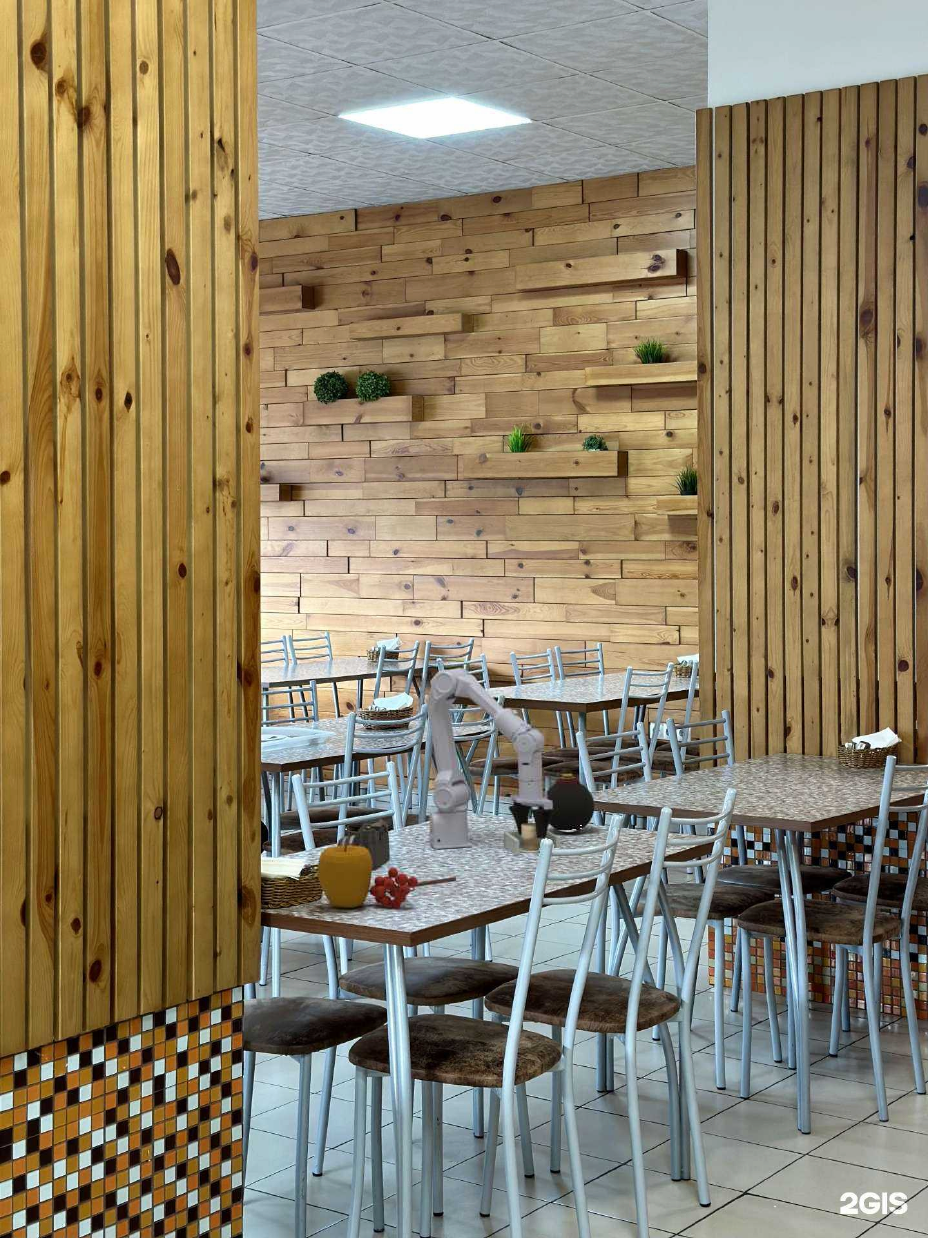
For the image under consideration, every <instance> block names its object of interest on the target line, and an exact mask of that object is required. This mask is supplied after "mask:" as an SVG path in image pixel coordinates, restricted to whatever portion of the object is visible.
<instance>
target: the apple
mask: <svg viewBox="0 0 928 1238" xmlns="http://www.w3.org/2000/svg"><path fill="white" fill-rule="evenodd" d="M372 872H373V870H372V858H371V855H370V853H369V851H368V849H366V848H365V847H360V846H349V845H348V846H347V844H345V846H337V845H336V846H329V847H327V848H325V849H323V851H322V852H320V855H319V859H318V864H317V877H318V881H319V884H320V887H321V889H322V891H323V893H324V895H325V897H326V899H327V900H328V902H329V903H328V904H330V905H332V906H333V907H337V908H338V907H339V908H345V909H346V908H347V909H349V908H350V909H352V908H357V907H362V906H363V905H364V903H365V902H366V899H367V897H368V894H369V892H368V891H369V890H370V888H371V881H372V874H373V873H372Z"/></svg>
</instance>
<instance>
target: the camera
mask: <svg viewBox="0 0 928 1238" xmlns="http://www.w3.org/2000/svg"><path fill="white" fill-rule="evenodd" d="M345 844H347V846H348V845H349V846H360V847H365V848H366V849H368V851H369V853H370V855H371V858H372V871H374V870H377V869H378V868H381V867H382V866H383V865H384V864H386V863H387V862H389V861H390V857H391V856H390V855H391V854H390V853H391V851H390V849H391V848H390V835H389V824H388V823H387V822H385V821H383V820H382V819H380V820H378V822H375V823H366V822H365V823H363V824H362V825H361V827H359V829H357V831H356V832H355V835H352V836H349V835H348V836H347V835H346V836H343V837H341V838H340V839H338V841H337V843H336V846H345Z"/></svg>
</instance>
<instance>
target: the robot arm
mask: <svg viewBox="0 0 928 1238" xmlns="http://www.w3.org/2000/svg"><path fill="white" fill-rule="evenodd" d="M458 697H460V698H469V699H470V700H471V701H472V702H474V703H475V704H476V705H477V706H478V707H480V709H482V710H483V711H484V712H485V713H487V715H489V716H490V717H492V718H493V719H492V720H493V725H494V727H495V728H496V729H497V730H498V731H499V732H500V733H501V734H502V735H504V737H506V739H508V740H509V742H511V743H512V745H513V749H514V751H515V752H516V754H517V756H518V757H517V765H518V766H517V767H518V768H517V769H518V771H517V772H518V794H513V795H510V804H512V805H509V806H508V810H509V811H510V813H511V816H512V817H513V820H514V822H515V824H516V825H515V826H516V829H517V831H518V833H519V834H520V835H521V834H522V827H521V825H522V824H524V823H529V818H530V817H529V816H530V812H531V814H532V816H533V819H534V823H535V824H536V834H537V838H546V834H547V830H548V829H549V825H550V824H549V822H550V819H551V817H552V815H553V813H554V809H553V805H552V801H551V800H548V799H545V798H544V793H543V791H544V789H543V763H542V762H543V761H542V750H543V749H544V747H545V743H546V742H545V741H546V740H545V737H544V735H543V733H542V732H541V730H539V729H538V728H532V725H531V724H529V723H526V722H525V721H524V720H523V719H522V718H521V717H520V716H519V715H518V714H519V712H518V711H517V710H516V709H513V710H512V708H504V707H502V706H501V705H500V704H499V703H498V702H497V700H496V699H495V698H493V696H492V695H491V694H490V693H489V691H487V690H486V689H485V688H484V687H483V686H482V685H481V684H480V683H479V681H478V680H477V678H476V677H475V676H474V675H472V674H470V672H469V671H468V670H467V669H465V668H463V667H457V668H454V669H453V668H452V669H441V670H440V671H438V672H436V674H435V675H434V676H433V677H432V678H431V679H430V689H429V692H428V697H427V699H426V708H427V710H426V711H427V716H428V720H429V721H428V722H429V726H430V727H429V728H430V734H431V739H432V745H433V746H432V747H433V751H434V757H435V764H436V769H437V770H436V771H437V775H436V777H435V779H434V781H433V785H434V791H433V794H432V795H433V796H432V800H433V803H434V805H435V807H436V808H437V810H436V811H435V810H434V811H429V812H430V813H429V816H428V817H429V818H428V819H429V821H428V822H429V845H430V846H431V847H432V848H434V849H435V850H441V849H455V848H456V849H457V848H469V847H473V844H472V843H471V842H470V841H469V826H468V806H467V805H468V803H469V801H471V799H472V791H471V788H470V786H469V785H468V783H467V780H466V776H465V775H464V773H463V772H462V771H461V770H460V767H459V761H458V755H457V747H456V743H455V741H456V740H455V737H454V730H453V725H452V723H453V722H452V718H451V712H450V707H451V706H452V704H453V703H454V702H455V700H457V698H458ZM533 807H534V808H535V809H531V808H533Z"/></svg>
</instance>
